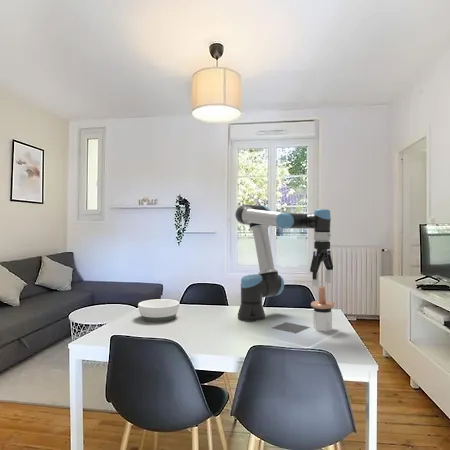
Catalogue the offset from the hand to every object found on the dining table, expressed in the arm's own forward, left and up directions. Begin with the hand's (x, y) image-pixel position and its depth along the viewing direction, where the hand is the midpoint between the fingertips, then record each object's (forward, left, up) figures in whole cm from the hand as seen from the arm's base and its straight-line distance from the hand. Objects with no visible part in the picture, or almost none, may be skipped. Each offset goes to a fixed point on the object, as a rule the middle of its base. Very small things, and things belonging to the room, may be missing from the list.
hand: (321, 284), depth 175 cm
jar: (0, 0, -22) cm, 22 cm away
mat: (-13, -8, -22) cm, 27 cm away
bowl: (-79, -37, -22) cm, 90 cm away
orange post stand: (0, 0, -10) cm, 10 cm away
